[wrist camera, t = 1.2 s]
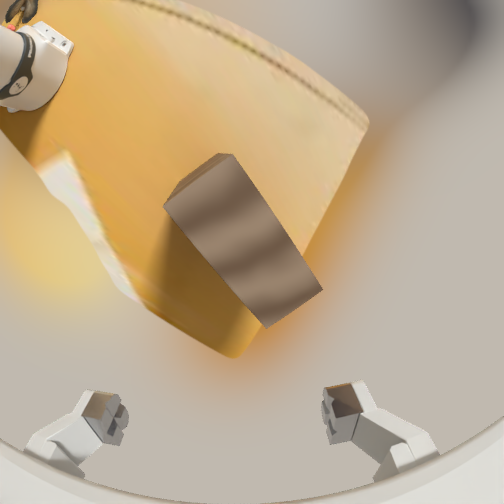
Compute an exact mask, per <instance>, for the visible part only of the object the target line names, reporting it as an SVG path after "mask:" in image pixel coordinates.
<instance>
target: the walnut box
mask: <svg viewBox="0 0 504 504" xmlns="http://www.w3.org/2000/svg"><path fill="white" fill-rule="evenodd" d="M163 208H164V209H165V210H166V212H167V213H168V214H169V215H170V217H171V218H172V219H173V220H174V222H175V223H176V224H177V225H178V226H179V228H180V229H181V230H182V231H183V233H184V234H185V235H186V236H187V237H188V239H189V240H190V241H191V242H192V243H193V245H194V246H195V247H196V248H197V249H198V251H199V252H200V253H201V254H202V255H203V257H204V258H205V259H206V260H207V261H208V263H209V264H210V265H211V266H212V267H213V268H214V270H215V271H216V272H217V273H218V274H219V275H220V277H221V278H222V279H223V280H224V281H225V282H226V284H227V285H228V286H229V287H230V288H231V289H232V291H233V292H234V293H235V294H236V295H237V296H238V297H239V299H240V300H241V301H242V302H243V303H244V304H245V305H246V306H247V308H248V309H249V310H250V311H251V312H252V313H253V314H254V315H255V317H256V318H257V319H258V320H259V321H260V322H261V323H262V324H263V325H264V327H265V328H266V329H267V328H268V327H270V326H271V325H273V324H274V323H276V322H277V321H279V320H280V319H282V318H283V317H285V316H286V315H288V314H289V313H291V312H292V311H294V310H295V309H297V308H298V307H299V306H301V305H302V304H304V303H305V302H307V301H308V300H309V299H311V298H312V297H314V296H315V295H316V294H318V293H319V292H321V291H322V290H323V289H322V287H321V286H320V284H319V282H318V281H317V279H316V278H315V276H314V274H313V273H312V271H311V270H310V268H309V267H308V265H307V264H306V262H305V260H304V259H303V257H302V256H301V254H300V252H299V251H298V249H297V248H296V246H295V245H294V243H293V242H292V240H291V239H290V237H289V236H288V234H287V233H286V231H285V230H284V228H283V227H282V225H281V224H280V222H279V221H278V219H277V218H276V216H275V215H274V213H273V212H272V210H271V209H270V207H269V206H268V204H267V203H266V201H265V200H264V198H263V197H262V195H261V194H260V193H259V191H258V190H257V188H256V187H255V185H254V184H253V182H252V181H251V180H250V178H249V177H248V175H247V174H246V172H245V171H244V170H243V168H242V167H241V165H240V164H239V162H238V161H237V160H236V158H235V157H234V155H233V154H223V153H218V154H216V155H215V156H213V157H212V158H210V159H209V160H208V161H206V162H205V163H204V164H202V165H201V166H199V167H198V168H197V169H195V170H194V171H193V172H191V173H190V174H189V175H187V176H186V177H185V178H184V179H182V180H181V181H180V182H179V183H178V185H177V186H176V188H175V189H174V190H173V192H172V193H171V195H170V196H169V198H168V199H167V201H166V202H165V204H164V205H163Z"/></svg>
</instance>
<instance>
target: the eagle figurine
mask: <svg viewBox="0 0 504 504" xmlns="http://www.w3.org/2000/svg"><path fill="white" fill-rule="evenodd" d="M37 6H38V0H16V1H15V2H14V3H13V4H12V5H11V6H10V7H9V10H8V11H7V14H6V18H5V19H6V20H5V21H6V23H8V22H10V21H11V20H12V18H13V17H14V16H15V15H16V14H17V13H18V11H19V10H20V8H21V11H22V12H23V10H24V9H25V11H24V16H23V19H22V22H23V23H27V22H29V20H31V18H32V17H34V15H35V14H36V11H37V8H38V7H37Z"/></svg>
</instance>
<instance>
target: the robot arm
mask: <svg viewBox="0 0 504 504" xmlns="http://www.w3.org/2000/svg"><path fill="white" fill-rule="evenodd" d="M14 30H15V27H14V26H13V25H11V24H9V26H8V27H7V28H6V27H4V26H2V25H0V105H1V106H4V107H7V110H8V112H10V113H14V112H17V111H19V110H25V111H31V110H35V109H38V108H39V107H41V106H43V105H44V104H45V103H47V102H48V101H49V100H50V99H51V98H52V97H53V95H54V94H55V93H56V92H57V90H58V89H59V87H60V85H61V83H62V81H63V79H64V76H65V73H66V69H67V62H68V58H69V56H70V54H71V52H72V49H73V47H74V44H73V42H71V41H70V40H68V39H67V38H66V37H64V36H63V35H62V34H60V33H59V32H57V31H56V30H55V29H53V28H52V27H50V26H49V25H47V24H46V23H44V22H42V21H40V22H38V23H36V24H34V25H33V26H29V25H26V26H23V27H22V28H20V29H19V30H17V31H16V32H14ZM65 44H66V45H65ZM64 45H65V46H64ZM323 397H324V400H323V401H322V417H323V421H324V424H326V425H327V436H328V439H329V443H330V445H331V444H337V443H342V442H347V441H351V440H352V442H353V443H354V444H355V445H357V446H358V447H359V448H361V449H362V450H363V451H364V452H366V453H367V454H368V455H370V456H371V457H372V458H373V459H375V460H376V461H377V462H378V463H380V464H381V466H380V467H379V469H378V471H377V472H376V474H375V475H374V477H373V479H374V483H371V484H368V485H364V486H361V487H357V488H354V489H350V490H347V491H342V492H338V493H333V494H329V495H324V496H319V497H314V498H307V499H301V500H293V501H286V502H275V503H262V504H504V416H503V417H501V418H500V419H499V420H497V421H496V422H494V423H493V424H491V425H490V426H489V427H487V428H486V429H484V430H483V431H481V432H480V433H478V434H477V435H475V436H473V437H472V438H470V439H469V440H467V441H465V442H464V443H462V444H460V445H458V446H457V447H455V448H453V449H451V450H450V451H448V452H446V453H444V454H442V455H440V454H439V452H438V451H437V449H436V447H435V445H434V443H433V442H432V440H431V438H430V436H429V434H428V433H427V431H425V430H423V429H421V428H418V427H417V426H415V425H413V424H411V423H409V422H407V421H405V420H403V419H401V418H399V417H397V416H395V415H393V414H392V413H390V412H388V411H386V410H384V409H382V408H378V409H377V407H376V405H375V403H374V401H373V399H372V397H371V395H370V393H369V391H368V389H367V387H366V385H365V383H364V381H363V380H359V381H355V382H350V383H345V384H341V385H336V386H331V387H326V388H324V390H323ZM120 402H121V399H120V397H119V396H118V395H117V394H112V393H106V392H100V391H94V390H88V389H87V390H86V391H85V392H84V393H83V395H82V397H81V398H80V400H79V401H78V403H77V405H76V407H75V408H74V410H73V412H72V413H71V414H70V413H68V414H67V415H65V416H63V417H61V418H60V419H58V420H56V421H55V422H53V423H51V424H49V425H48V426H46V427H44V428H42V429H41V430H39V431H37V432H35V433H34V434H33V435H32V437H31V439H30V441H29V442H28V444H27V446H26V447H25V449H24V451H23V452H22V451H20V450H18V449H17V448H15V447H13V446H12V445H10V444H8V443H6V442H5V441H3V440H2V439H0V504H205V503H191V502H182V501H174V500H167V499H160V498H153V497H148V496H143V495H139V494H134V493H129V492H126V491H122V490H118V489H114V488H110V487H107V486H104V485H100V484H97V483H94V482H91V481H88V480H85V479H84V477H85V474H84V472H83V471H82V470H81V469H80V468H79V467H78V465H79V464H80V463H82V462H83V461H84V460H85V459H86V458H87V457H89V456H90V455H91V454H92V453H93V452H94V451H96V450H97V449H98V448H99V447H100V446H101V445H102V444H103V443H106V444H112V445H117V446H119V445H120V443H121V440H122V438H123V435H124V434H123V432H122V430H123V429H124V428H126V427H127V424H128V418H129V415H128V412H127V410H126V408H125V407H124V406H123V405H122V404H121V403H120Z"/></svg>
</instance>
